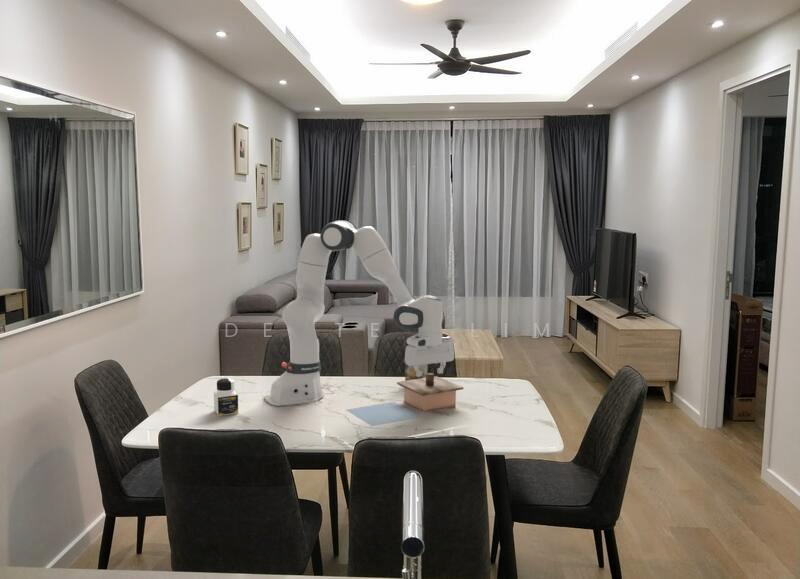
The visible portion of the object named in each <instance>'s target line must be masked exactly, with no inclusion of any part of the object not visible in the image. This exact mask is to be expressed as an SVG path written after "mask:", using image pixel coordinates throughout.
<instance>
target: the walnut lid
mask: <svg viewBox="0 0 800 579" xmlns="http://www.w3.org/2000/svg"><path fill="white" fill-rule="evenodd" d="M396 384H397V385H398V386H401V387H403V389H404V388H406V389H409V390H411V391H413V392H415V393H417V394H419V395H421V396H426V395H432V394H438V393H444V392H450V391H456V392H457V391H461V390H464V386H461V385H459V384H457V383H454V382H451V381H449V380H447V379H444V378H442V377H439V376H437V375H436V376H435V374H434V372H433V373H432V372H427V374H426V378H421V379H414V380H407V381H405V380H402V381H396Z"/></svg>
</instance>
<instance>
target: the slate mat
mask: <svg viewBox="0 0 800 579" xmlns="http://www.w3.org/2000/svg"><path fill="white" fill-rule="evenodd" d="M346 411H347V412H349V413H351V414H352V415H353V416H355V417H357V418H358V419H360V420H361V421H363V422H365V423H366V424H368V425H369V426H372V427H373V426H379V425H384V424H390V423H396V422H400V421H406V420H412V419H418V418H421V417H422V416H421V415H420V414H418V413H416V412H414V411H412V410H410V409H408V408H406V407H405V406H403V405H401V404H399V403H398V402H395V401H390V402H384V403H378V404H372V405H366V406H360V407H359V406H358V407H353V408H348V409H347V408H346ZM422 418H423V417H422Z"/></svg>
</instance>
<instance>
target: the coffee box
mask: <svg viewBox="0 0 800 579" xmlns="http://www.w3.org/2000/svg"><path fill="white" fill-rule="evenodd" d="M404 366H405V367H404V368H405V369H404V371H405V372H404V374H405V375H404V381H407V380H414V379H421V378H426V374H427V373H428V364H426V365H420V368H418V369H419V371H420V372H422V376H421V377H417V376H416V371H415V369H414V366H408V365H407V364H406V363H405V364H404Z"/></svg>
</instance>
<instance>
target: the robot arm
mask: <svg viewBox="0 0 800 579" xmlns="http://www.w3.org/2000/svg"><path fill="white" fill-rule="evenodd" d="M349 249H352V250H353V251H355V254H356V255H357V256H358V258H359V260H360V261H361V263H362V265H363V267H364V269H365V270H366V271H367V273H368V274H369V275H370V276H371V277H372V278H375V279H376V280H379V281H380V282H382V283H383V284H385V285H386V287H387V289H389V291H390V293H391V295H392V297H393V298H394V300H395V302H396V303H397V308H396V309H395V311H394V312H393V322H394V324H395V325H396V326H397V327H398V328H399V329H401V330H404V331H406V330H407V331H408V330H414V329H415V330H416V329H418V332H417V333H416V334H414V335H412V336H410V337H408V338H407V339H406V344H408V345H407V346H406V347H405V352H404V363H405V365H406V364H407V365H408V366H414V369H415V371H416V376H417V377H421V376H422V372H420V371H419V369H418V368H420V365H426V364H427V365H433V364H440V365H439V368H436V370H437V374H438V375H441V374H444V369H445V367H446V364H447V362H453V361H454V359H455V350H454V349H455V347H454V342H455V341H454V339H453V338H452V337H450V336H446V337H445V336H443V326H442V324H443V320H444V310H443V309H444V308H443V302H442V300H441V298H439V297H437V296H435V295H430V294H422V295H421V296H420V297H418V298H415V297H414V296H413V295H412V293H411V292H410V290H409V288H408V287H407V285H406V282H404V280H403V278H402V276H401V274H400V273H399V270H398V268H397V265H396V264H395V260H394V258H393V255H392V254H391V252H390V250H389V248H388V246H387V244H386V243H385V241H384V239H383V238H382V236H381V235H380V234H379V232H378V231H377V229H376V228H374V227H373V226H370V225H368V226H365V225H364V226H361V227H360V228H357V226H356V225H355V224H354V223H353V222H351V221H349V220H341V219H340V220H335V221H331V222H329V223H326V225H324V226H323V228H322V230H321V232H320V233H311V234H308V235H307V236H306V237H305V238H304V241H303V243H302V246H301V249H300V253H299V257H298V263H297V268H296V270H297V271H296V274H295V284H296V292H297V293H296V294H297V295H296V298H295V300H292V301H290V302H289V303H288V304H287V305H286V307H284V309H283V311H282V320H283V323H284V324H285V325H286V329H287V332H288V337H289V348H290V349H289V350H290V352H289V353H290V356H289V357H290V360H289V361H288V362H285V361H282V362H281V367H282V368H284V369H285V371H284V372H283V373H282V374H280V376H279V377H278V378H276V379H275V380H273V382H272V383H271V387H270V392H269V393H268V394H265V395H264V400H265V401H266V402H267V403H268V404H270V405H272V406H278V407H279V406H280V407H282V406H292V405H303V404H311V403H317V402H318V401H319V400H321V399H322V398H324V392H323V389H322V384H321V383H322V382H321V376H320V375H321V369H322V368H321V360H320V340H319V339H318V337H317V333H316V328H315V324H316V322H318V321H320V319H321V318H322V317H323V315H324V313H325V311H326V310H325V309H326V308H325V306H326V305H325V302H324V301H325V281H326V277H327V272H328V266H329V262H330V261H329V259H330V255H331V253H332V252H338V251H339V252H340V251H344V250H349Z"/></svg>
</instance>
